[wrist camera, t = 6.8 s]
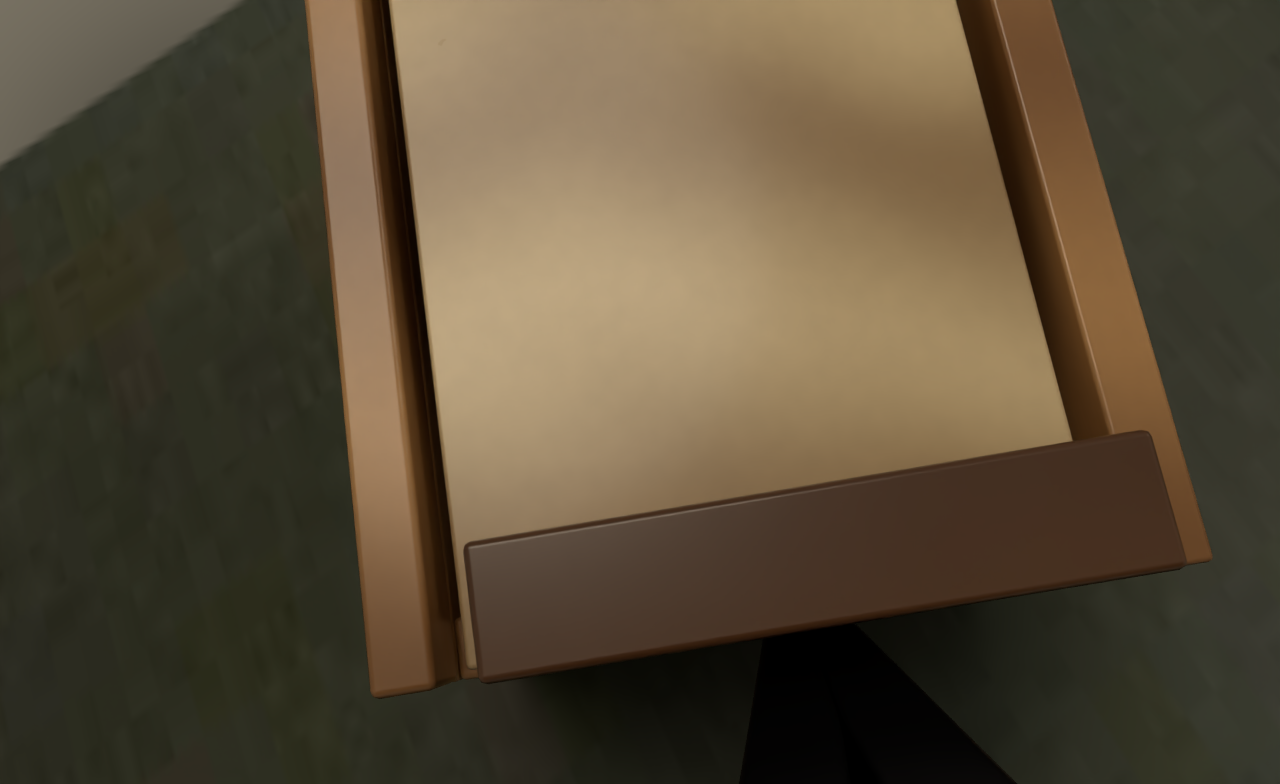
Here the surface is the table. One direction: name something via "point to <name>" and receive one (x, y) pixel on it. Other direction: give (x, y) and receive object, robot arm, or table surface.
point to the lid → (736, 330)
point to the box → (398, 340)
